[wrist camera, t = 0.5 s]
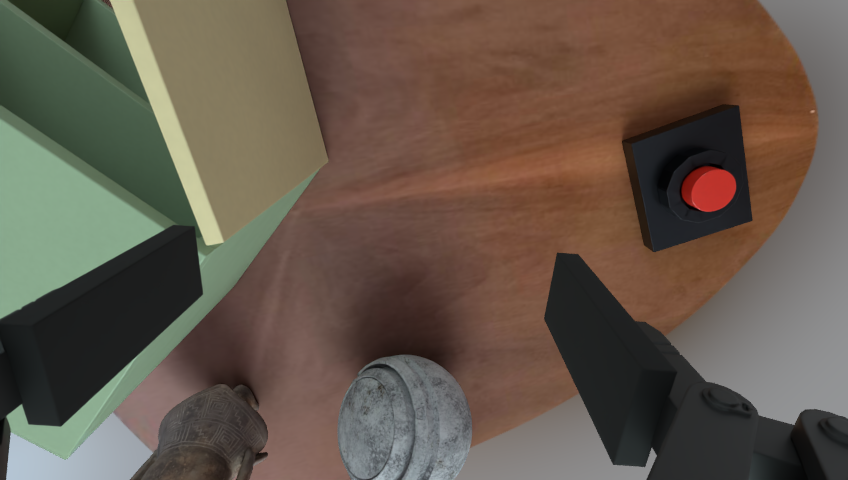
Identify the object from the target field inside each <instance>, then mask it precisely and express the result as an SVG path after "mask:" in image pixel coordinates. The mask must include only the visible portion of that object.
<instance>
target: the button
mask: <svg viewBox="0 0 848 480" xmlns="http://www.w3.org/2000/svg"><path fill="white" fill-rule="evenodd" d="M735 191H736V181H735V179H734V177H733V175H732V174H731V173H729V172H728V171H725V170H722V169H719V168H716V167H712V166H704V167H700V168H697V169H695V170H694V171H692V172H691V173H690V174H689V175H688V176H687V177H686V178H685V180H684V182H683V184H682V189H681V192H682V197H683V199H684V201H685V202H686V203H687V204H689V205H690V206H693V207H695V208H697V209H699V210H701V211H705V212H712V211H716V210H719V209H721V208H723V207H724V206H726V205H727V204H728V203H729V202H730V201H731V199H732V198H733V196H734V194H735Z"/></svg>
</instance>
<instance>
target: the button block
mask: <svg viewBox="0 0 848 480" xmlns="http://www.w3.org/2000/svg"><path fill="white" fill-rule="evenodd" d="M622 144H623V149H624V153H625V158H626V163H627V167H628V172H629V177H630V181H631V186H632V191H633V195H634V200H635V205H636V209H637V214H638V219H639V223H640V228H641V233H642V237H643V242H644V245H645V246H646V247H648V248H649V249H650V250H652V251H653V252H656V251H660V250H663V249H666V248H669V247H672V246H675V245H678V244H681V243H684V242H688V241H691V240H694V239H697V238H700V237H703V236H706V235H709V234H712V233H716V232H719V231H722V230H725V229H728V228H731V227H734V226H737V225H741V224H744V223H747V222H750V221H752V212H751V204H750V195H749V187H748V178H747V170H746V162H745V153H744V145H743V136H742V128H741V119H740V111H739V106H738V105H721V106H718V107H715V108H712V109H710V110H707V111H704V112H701V113H699V114H696V115H693V116H690V117H687V118H685V119H682V120H679V121H676V122H674V123H671V124H668V125H665V126H662V127H660V128H657V129H654V130H651V131H649V132H646V133H643V134H640V135H637V136H635V137H632V138H629V139H626V140H624V141H622ZM704 166H712V167H716V168H719V169H722V170H725V171H728V172H729V173H731V174H732V175H733V177H734V179H735V181H736V191H735V194H734V196H733V198H732V199H731V201H730V202H729V203H728V204H727V205H726V206H724V207H723V208H721V209H719V210H716V211H712V212H705V211H701V210H699V209H697V208H695V207H693V206H690V205H689V204H687V203H686V202H685V201H684V199H683V197H682V192H681V189H682V184H683V182H684V180H685V178H686V177H687V176H688V175H689V174H690V173H691V172H692V171H694V170H695V169H697V168H700V167H704Z"/></svg>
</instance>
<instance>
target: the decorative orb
mask: <svg viewBox="0 0 848 480" xmlns="http://www.w3.org/2000/svg"><path fill="white" fill-rule="evenodd" d="M357 375H358V377H357V378H356V379H354V380H353V382H352V383H351V385H350V387H349V389H348V391H347V392H346V394H345V397H344V399H343V402H342V405H341V409H340V413H339V419H338V444H339V450H340V454H341V458H342V461H343V463H344V466H345V467H346V469H347V471H348V474H349V476H350V478H351V480H454V479H455V477H456V476H457V475H458V473H459V472H460V470H461V468H462V466H463V465H464V463H465V460H466V458H467V455H468V452H469V449H470V444H471V438H472V419H471V413H470V408H469V405H468V402H467V399H466V397H465V395H464V392H463V391H462V389H461V387H460V385H459V384H458V383H457V381H456V380H455V379H454V378H453V376H452V375H451V374H450V373H449V372H448V371H446V370H445V369H444V368H443V367H441V366H440V365H438V364H437V363H435V362H433V361H431V360H429V359H426V358H423V357H420V356H414V355H395V356H391V357H383V358H379V359H377V360H375V361H373V362H371V363H369V364H368V365H366V366H365V367H364V368H362V369H361V370H360V372H359V373H358V374H357Z"/></svg>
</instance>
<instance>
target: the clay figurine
mask: <svg viewBox="0 0 848 480" xmlns="http://www.w3.org/2000/svg"><path fill="white" fill-rule="evenodd" d="M258 409H259V405H258V404H257V402H256V401H255V398H254V397H253V394H252V393H251V390H250V389H249V388H248V387H246V386H244V385H239V386H236V387H235V388H234V389H233V390H232V389H231V388H230V387H228V386H227V385H225V384H218V385H215V386H213V387H210V388H207V389H205V390H203V391H201V392H199V393H197V394H194V395H193V396H191V397H189V398H187V399H186V400H184V401H182V402H181V403H179V404H178V405H177V406H175V407H174V408H173V409H172V410H171V411H169V413H168V414H167V415H166V416H165V417H164V419H163V420H162V423H161V425H160V428H159V434H158V439H159V444H158V449H157V450H155V451H154V453H153V454H152V455H151V457H150V458H149V459H148V460H147V461H146V462H145V463H144V464H143V465H142V466H141V468H140V469H139V470H138V471H137V472H136V473H135V475H134V476H133V477H132V478H131V479H130V480H232V479H233V478H234V477H235V476H237V479H236V480H249V479H250V476H251V473H252V470H253V466H254V465H256V464H258V463H260V462H262V461H263V460H265V459H266V458H267V456H268V453H267V452H264V453H259V452H260V451H261V450H262V449H263V448H264V446H265V445H266V442H267V439H268V431H267V426H266V424H265V422H264V420H263V419H262V417H261V416H260V414H259V413H258V412H256V411H257V410H258Z"/></svg>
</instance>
